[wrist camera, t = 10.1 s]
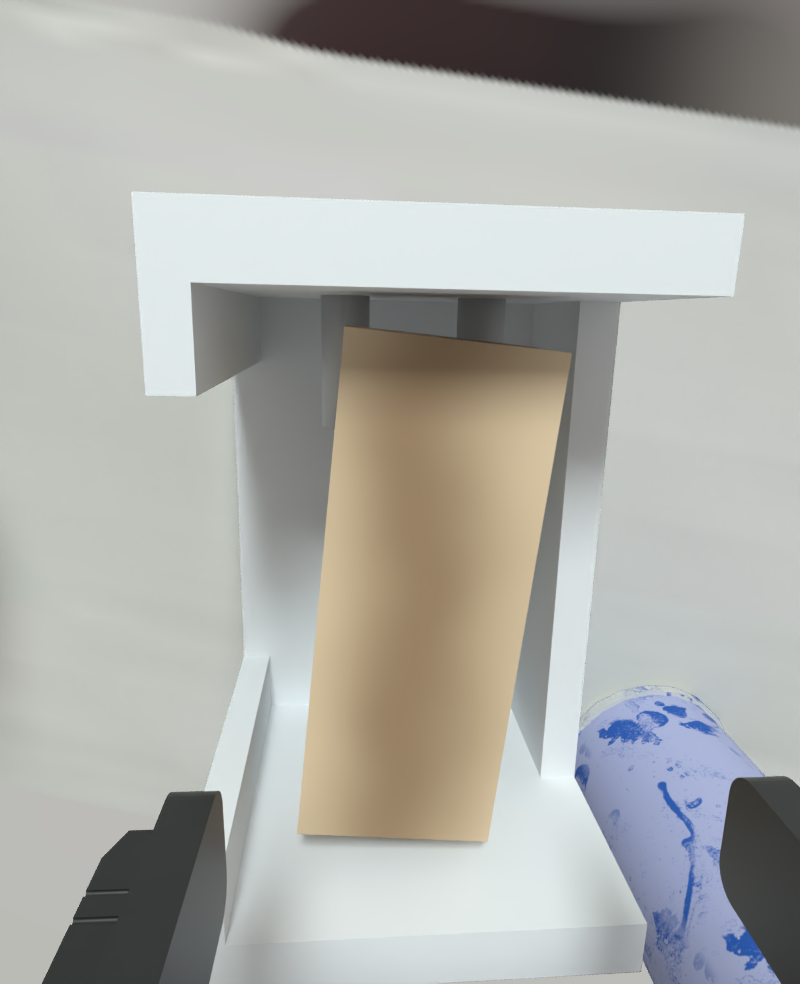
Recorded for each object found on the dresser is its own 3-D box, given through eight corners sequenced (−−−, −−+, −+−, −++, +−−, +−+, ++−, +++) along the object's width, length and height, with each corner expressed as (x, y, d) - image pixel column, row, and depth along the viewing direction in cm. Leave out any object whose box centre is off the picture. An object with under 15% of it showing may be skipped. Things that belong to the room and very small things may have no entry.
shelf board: (533, 346, 20) (572, 353, 16) (467, 765, 23) (487, 841, 20) (344, 324, 19) (344, 326, 16) (304, 756, 23) (296, 833, 19)
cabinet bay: (561, 260, 25) (745, 213, 14) (526, 719, 30) (641, 972, 18) (233, 250, 24) (130, 191, 13) (250, 726, 29) (188, 997, 18)
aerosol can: (582, 857, 32) (937, 1667, 13) (536, 720, 30) (877, 1440, 11) (740, 802, 32) (1336, 1535, 13) (705, 661, 30) (1351, 1280, 11)
